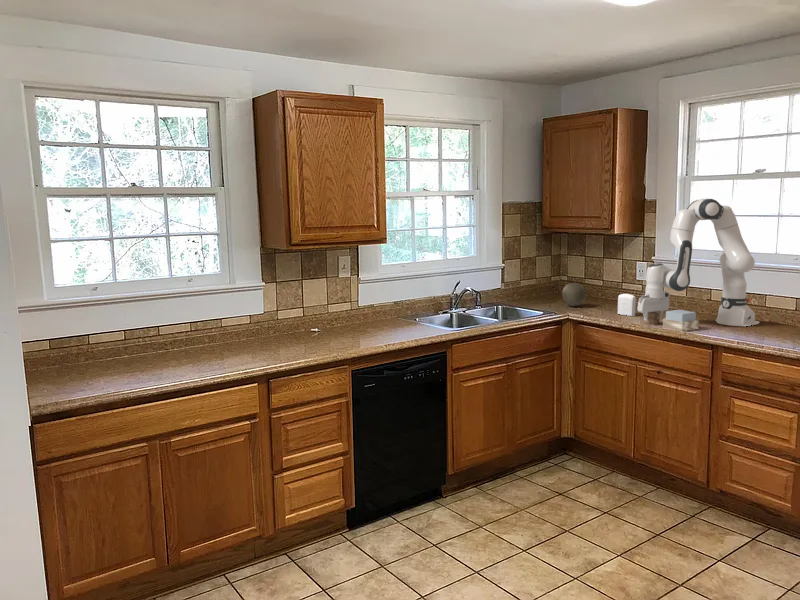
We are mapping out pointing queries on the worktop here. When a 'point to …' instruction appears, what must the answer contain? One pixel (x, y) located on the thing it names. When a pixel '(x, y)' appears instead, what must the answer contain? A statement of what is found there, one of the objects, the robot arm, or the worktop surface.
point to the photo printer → (626, 304)
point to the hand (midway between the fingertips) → (652, 319)
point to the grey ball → (574, 294)
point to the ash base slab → (681, 325)
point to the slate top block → (681, 315)
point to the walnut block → (653, 318)
